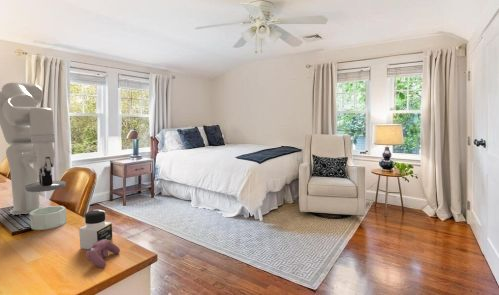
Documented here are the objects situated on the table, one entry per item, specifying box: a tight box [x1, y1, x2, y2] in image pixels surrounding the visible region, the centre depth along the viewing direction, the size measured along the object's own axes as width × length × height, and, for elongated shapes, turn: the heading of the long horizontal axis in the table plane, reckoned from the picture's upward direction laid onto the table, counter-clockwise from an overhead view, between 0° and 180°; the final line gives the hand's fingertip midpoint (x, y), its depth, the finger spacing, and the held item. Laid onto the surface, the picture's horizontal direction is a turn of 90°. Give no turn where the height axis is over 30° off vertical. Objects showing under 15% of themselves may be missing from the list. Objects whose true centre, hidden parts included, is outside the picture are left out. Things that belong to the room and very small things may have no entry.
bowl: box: [28, 205, 68, 231], centre depth 111 cm, size 12×12×6 cm
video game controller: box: [85, 239, 121, 269], centre depth 84 cm, size 10×5×7 cm, turn 178°
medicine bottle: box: [78, 209, 114, 250], centre depth 94 cm, size 7×7×12 cm
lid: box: [25, 173, 67, 193], centre depth 110 cm, size 13×13×6 cm
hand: (46, 184), depth 110 cm, fingers closed on lid, 3 cm apart
